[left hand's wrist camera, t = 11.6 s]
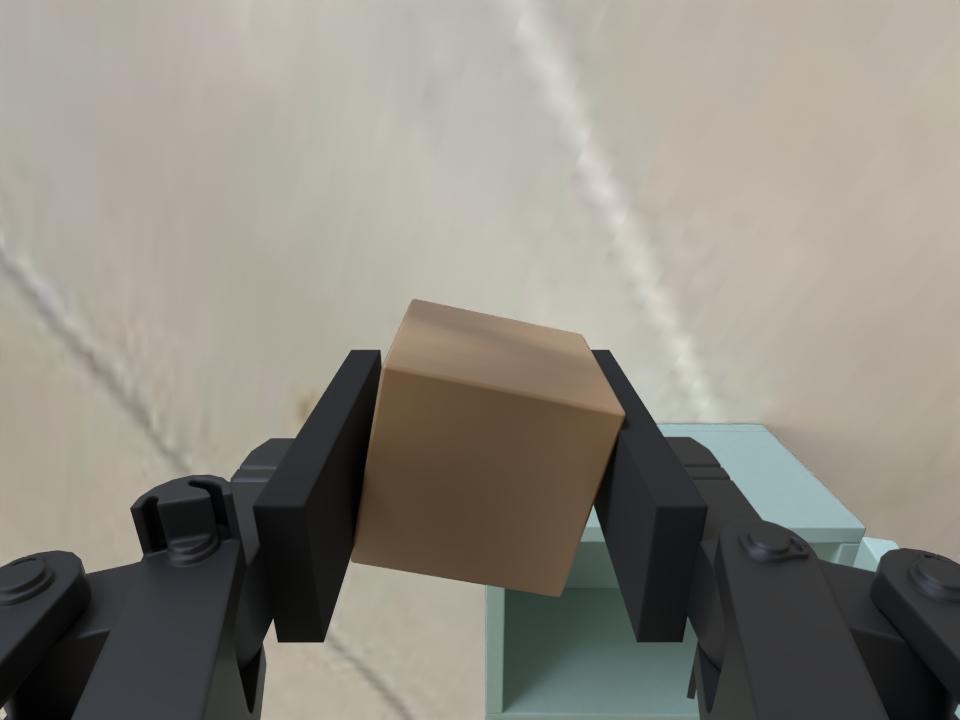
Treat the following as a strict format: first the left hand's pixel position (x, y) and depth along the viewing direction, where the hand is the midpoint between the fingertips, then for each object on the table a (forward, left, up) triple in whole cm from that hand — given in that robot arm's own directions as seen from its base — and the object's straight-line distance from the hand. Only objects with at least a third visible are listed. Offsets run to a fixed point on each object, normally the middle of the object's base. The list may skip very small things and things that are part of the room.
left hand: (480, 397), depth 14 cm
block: (0, 0, 0) cm, 0 cm away
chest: (+14, -7, -13) cm, 21 cm away
